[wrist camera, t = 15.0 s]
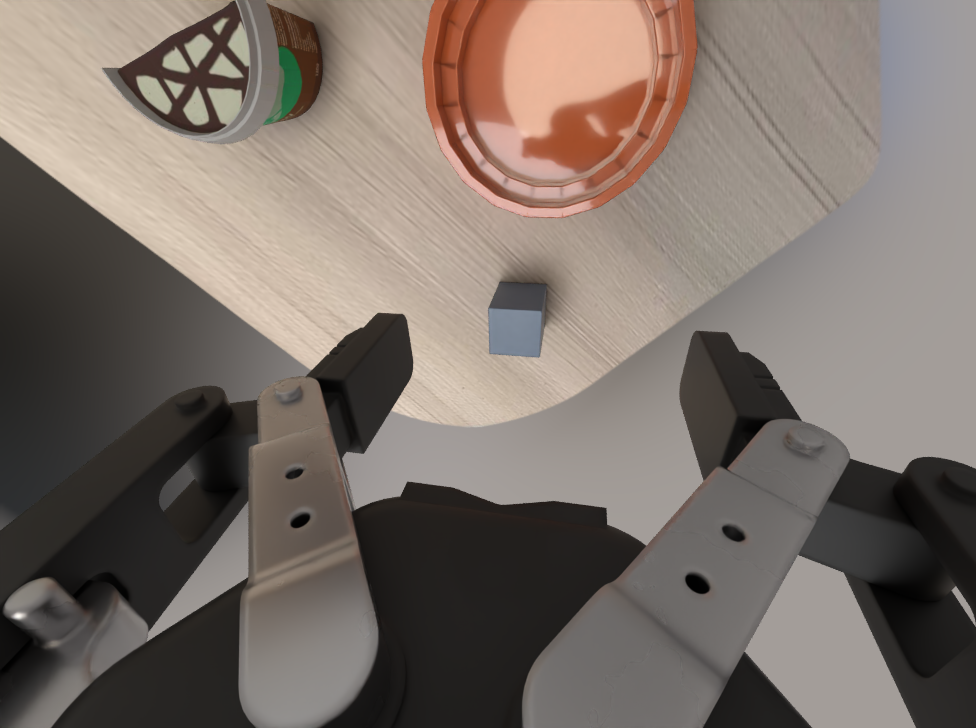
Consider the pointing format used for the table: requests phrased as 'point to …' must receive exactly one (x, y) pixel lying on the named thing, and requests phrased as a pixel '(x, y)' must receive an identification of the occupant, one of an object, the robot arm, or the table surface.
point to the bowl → (556, 95)
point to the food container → (226, 74)
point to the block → (517, 319)
